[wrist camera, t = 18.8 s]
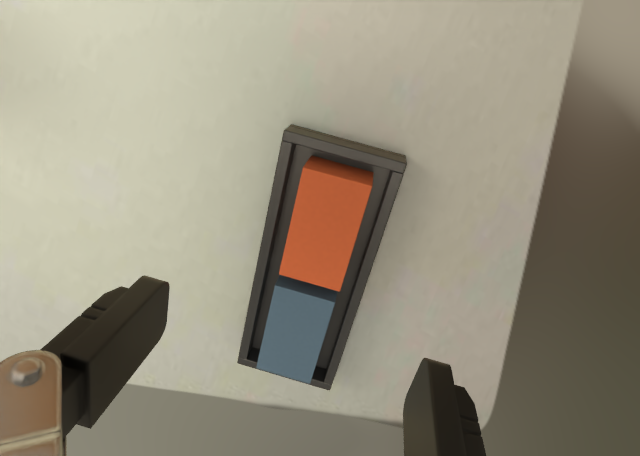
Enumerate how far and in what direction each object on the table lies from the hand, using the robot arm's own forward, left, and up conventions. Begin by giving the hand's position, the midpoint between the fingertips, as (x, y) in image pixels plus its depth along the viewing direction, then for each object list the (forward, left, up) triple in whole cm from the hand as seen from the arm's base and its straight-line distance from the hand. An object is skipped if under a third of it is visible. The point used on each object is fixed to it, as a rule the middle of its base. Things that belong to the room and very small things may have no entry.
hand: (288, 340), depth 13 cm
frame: (+5, +8, -22) cm, 24 cm away
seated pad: (+8, +13, -21) cm, 26 cm away
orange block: (+3, +4, -21) cm, 22 cm away
